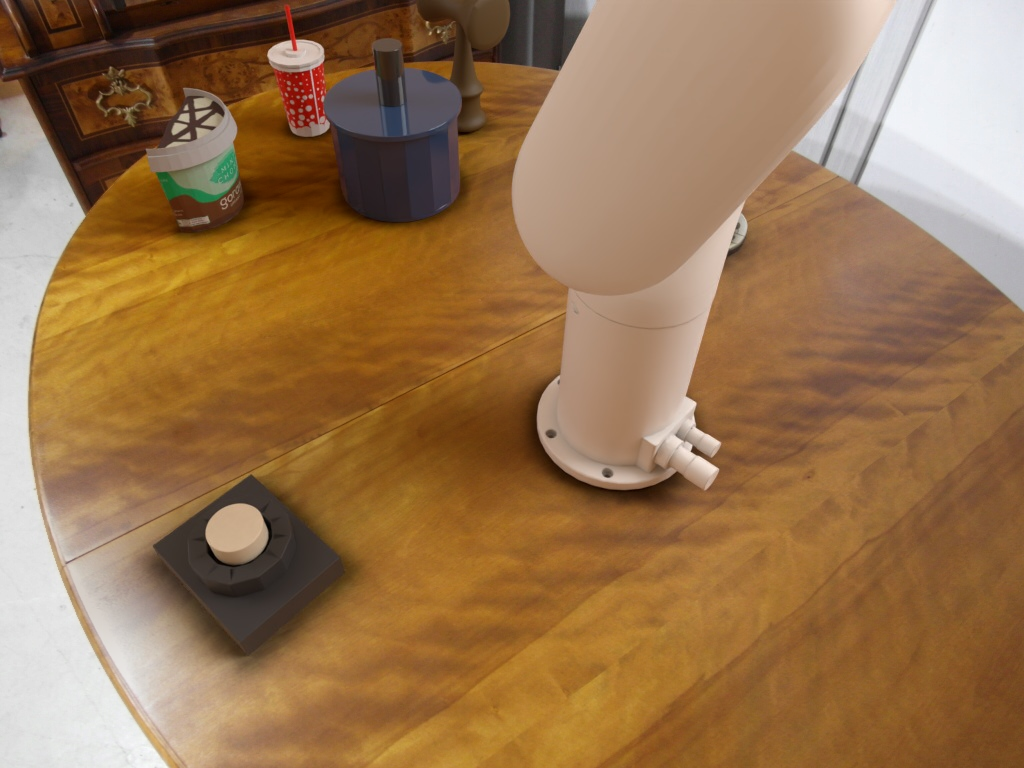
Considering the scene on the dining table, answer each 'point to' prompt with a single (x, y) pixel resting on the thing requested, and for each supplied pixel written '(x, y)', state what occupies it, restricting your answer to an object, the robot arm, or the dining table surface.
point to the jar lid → (392, 100)
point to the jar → (399, 174)
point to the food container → (199, 163)
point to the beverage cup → (301, 82)
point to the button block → (252, 568)
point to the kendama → (469, 46)
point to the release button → (237, 534)
